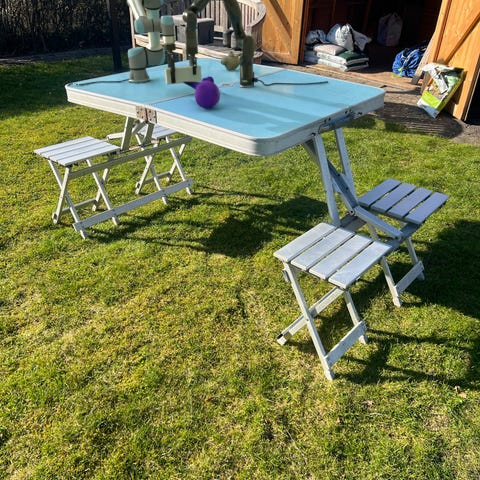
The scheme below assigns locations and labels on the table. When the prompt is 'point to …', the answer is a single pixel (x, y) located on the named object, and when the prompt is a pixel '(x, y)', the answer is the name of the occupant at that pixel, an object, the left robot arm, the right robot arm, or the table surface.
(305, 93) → the table surface
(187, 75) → the bar
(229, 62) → the teapot
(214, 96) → the toy
